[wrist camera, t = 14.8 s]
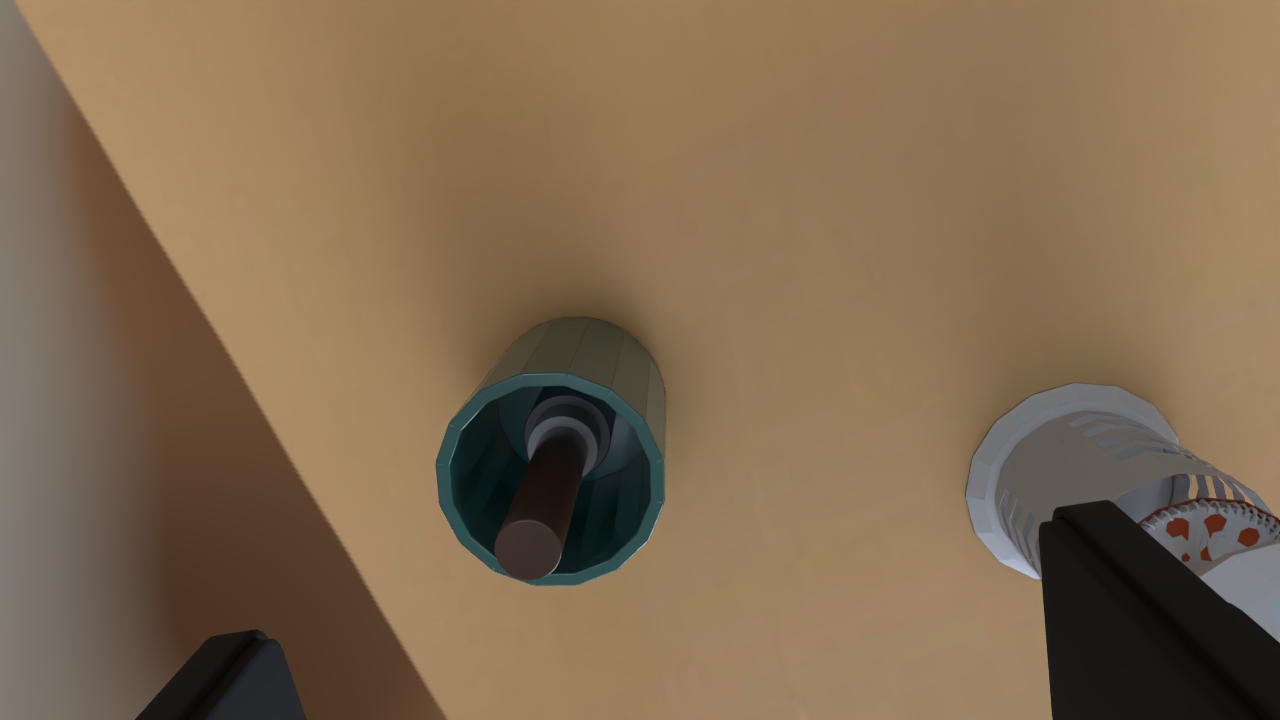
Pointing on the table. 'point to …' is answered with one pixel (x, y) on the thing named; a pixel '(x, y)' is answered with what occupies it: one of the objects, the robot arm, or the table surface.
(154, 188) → the table surface
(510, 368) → the cup
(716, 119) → the table surface
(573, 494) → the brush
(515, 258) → the table surface
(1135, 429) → the french press
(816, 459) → the table surface
